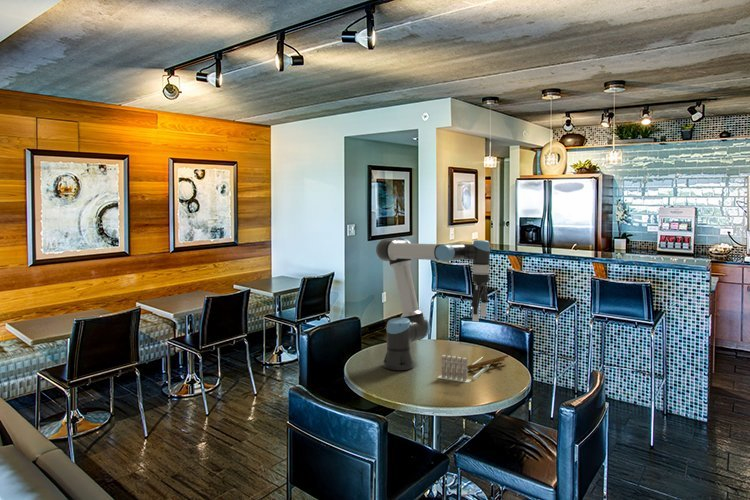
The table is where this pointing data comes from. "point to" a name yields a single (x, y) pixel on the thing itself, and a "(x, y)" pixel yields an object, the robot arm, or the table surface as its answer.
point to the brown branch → (486, 362)
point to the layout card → (454, 379)
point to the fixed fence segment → (454, 367)
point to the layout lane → (480, 370)
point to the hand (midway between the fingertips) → (479, 318)
